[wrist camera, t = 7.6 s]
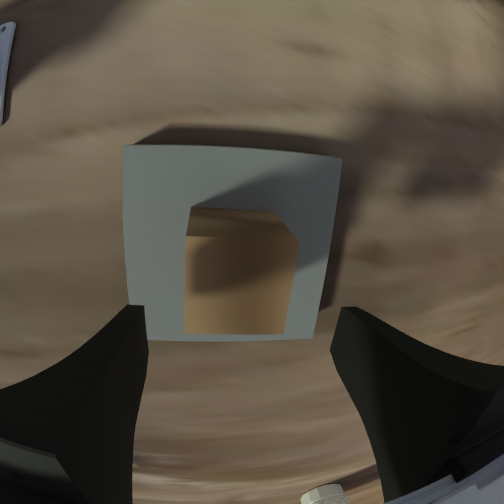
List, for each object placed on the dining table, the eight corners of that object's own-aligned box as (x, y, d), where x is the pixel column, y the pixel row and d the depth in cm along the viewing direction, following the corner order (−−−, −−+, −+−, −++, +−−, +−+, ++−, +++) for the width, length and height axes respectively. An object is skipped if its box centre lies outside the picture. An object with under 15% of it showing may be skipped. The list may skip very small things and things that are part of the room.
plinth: (139, 318, 21) (134, 339, 19) (133, 144, 17) (122, 145, 15) (302, 318, 23) (312, 338, 21) (326, 155, 19) (342, 158, 17)
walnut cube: (188, 282, 18) (184, 333, 13) (191, 206, 16) (185, 236, 12) (264, 285, 19) (283, 334, 14) (273, 212, 17) (299, 242, 13)
